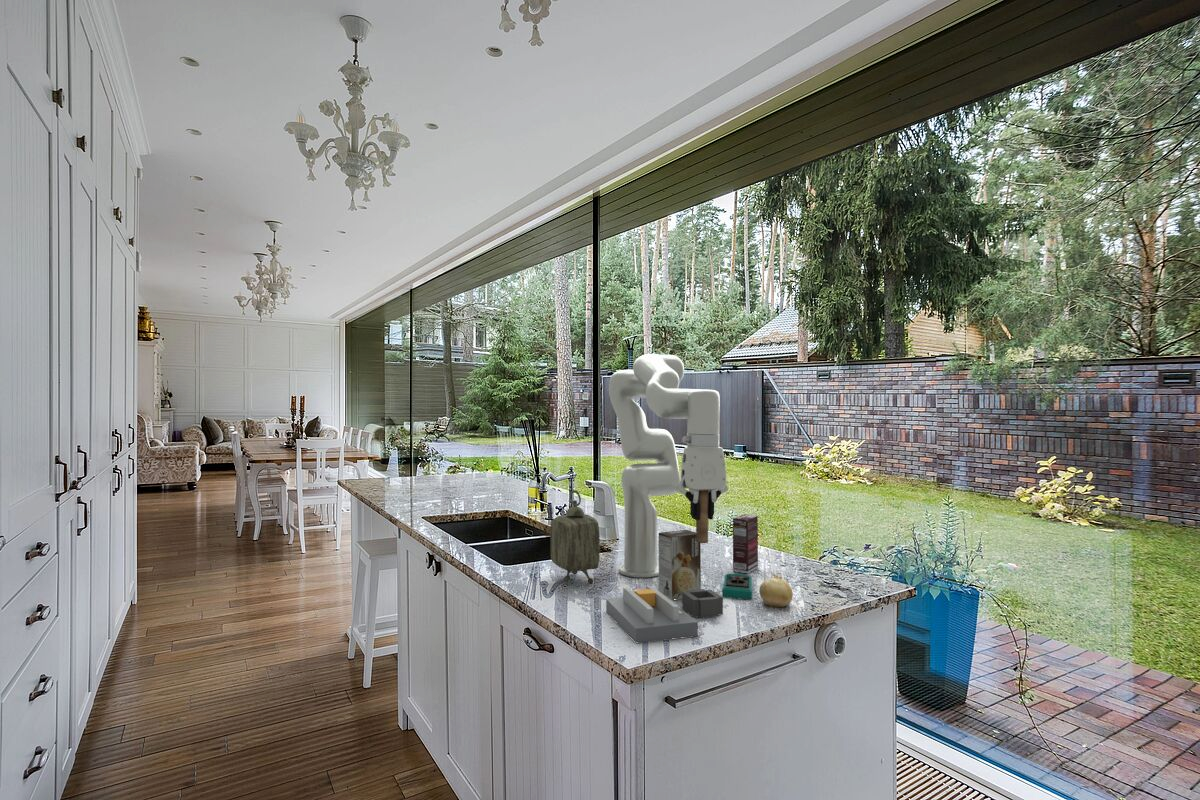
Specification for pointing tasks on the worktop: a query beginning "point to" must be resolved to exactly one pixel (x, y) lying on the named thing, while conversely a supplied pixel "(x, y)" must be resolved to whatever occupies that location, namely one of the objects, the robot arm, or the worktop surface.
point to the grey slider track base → (650, 617)
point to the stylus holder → (702, 603)
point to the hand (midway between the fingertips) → (702, 518)
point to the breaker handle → (646, 596)
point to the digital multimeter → (737, 586)
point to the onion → (776, 592)
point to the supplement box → (745, 543)
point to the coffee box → (679, 563)
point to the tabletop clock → (575, 541)
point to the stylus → (702, 518)
